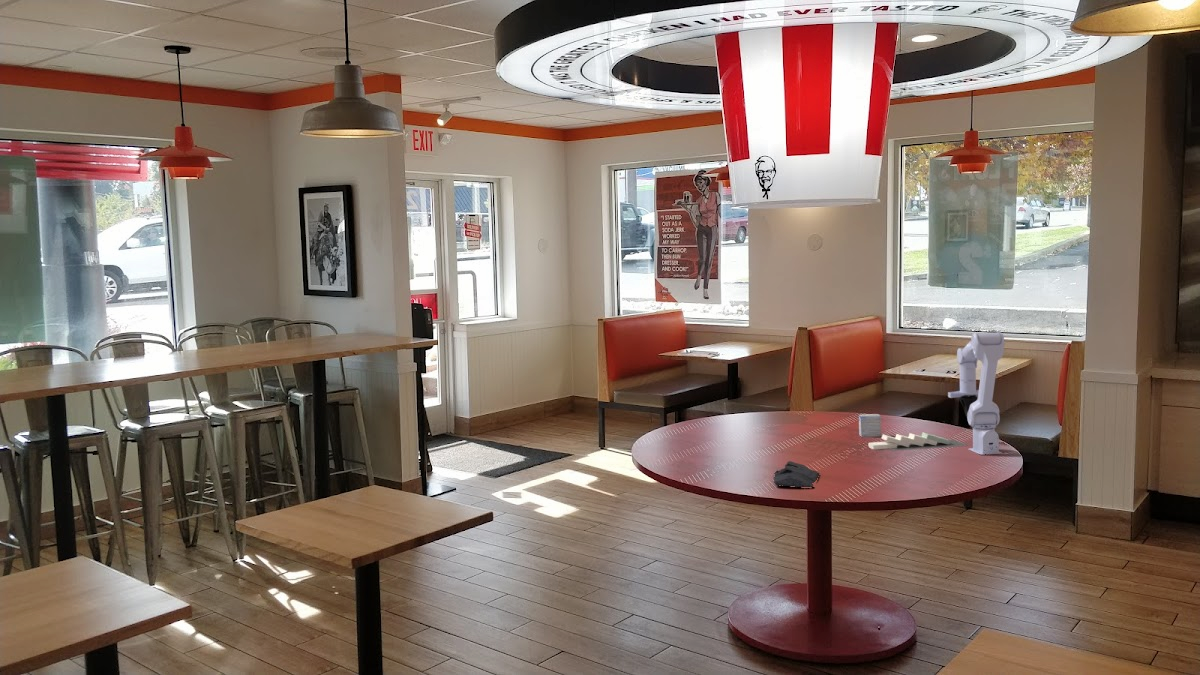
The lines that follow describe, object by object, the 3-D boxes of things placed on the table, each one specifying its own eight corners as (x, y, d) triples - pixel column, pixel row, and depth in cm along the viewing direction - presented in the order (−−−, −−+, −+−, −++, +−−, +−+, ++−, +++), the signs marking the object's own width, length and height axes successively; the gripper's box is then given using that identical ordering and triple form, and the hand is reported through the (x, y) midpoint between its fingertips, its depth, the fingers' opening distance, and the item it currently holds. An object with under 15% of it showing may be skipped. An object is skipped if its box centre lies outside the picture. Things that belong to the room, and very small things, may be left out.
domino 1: (891, 441, 350) (868, 442, 349) (896, 443, 345) (873, 445, 344) (891, 445, 350) (868, 446, 349) (897, 448, 345) (873, 449, 344)
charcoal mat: (968, 446, 343) (968, 445, 343) (891, 451, 341) (891, 450, 341) (953, 440, 355) (953, 439, 355) (879, 445, 353) (879, 444, 353)
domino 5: (944, 438, 351) (922, 432, 350) (950, 440, 346) (927, 434, 345) (943, 442, 351) (921, 436, 350) (949, 444, 346) (926, 438, 345)
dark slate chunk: (767, 489, 298) (766, 475, 297) (775, 473, 319) (775, 460, 318) (815, 491, 293) (815, 476, 293) (821, 474, 314) (820, 460, 314)
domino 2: (904, 440, 350) (882, 434, 349) (910, 443, 345) (887, 436, 344) (903, 444, 350) (881, 438, 349) (908, 447, 345) (886, 440, 344)
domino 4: (931, 439, 351) (909, 432, 350) (937, 441, 346) (914, 435, 345) (930, 443, 351) (908, 436, 350) (936, 445, 346) (913, 439, 345)
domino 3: (918, 439, 350) (896, 433, 350) (924, 442, 345) (901, 436, 345) (917, 443, 350) (895, 437, 350) (922, 446, 346) (900, 440, 345)
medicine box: (879, 435, 372) (878, 413, 371) (881, 437, 368) (880, 415, 367) (859, 435, 373) (858, 414, 372) (861, 437, 368) (860, 416, 368)
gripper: (981, 377, 355) (981, 412, 356) (944, 379, 354) (944, 414, 355) (990, 379, 348) (990, 415, 349) (952, 382, 347) (953, 418, 348)
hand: (968, 415), depth 351 cm, fingers closed
